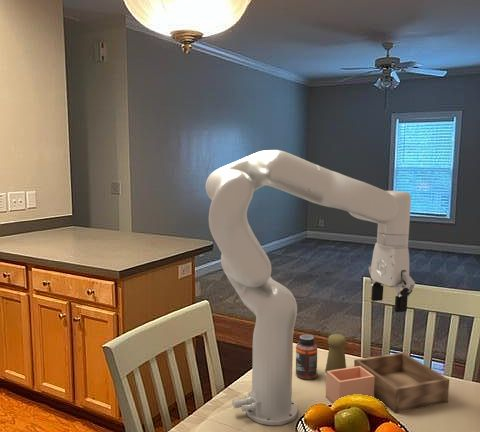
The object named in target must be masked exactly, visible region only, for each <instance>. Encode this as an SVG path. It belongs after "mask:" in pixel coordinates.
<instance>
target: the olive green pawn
mask: <svg viewBox="0 0 480 432" xmlns="http://www.w3.org/2000/svg"><path fill="white" fill-rule="evenodd" d="M327 344H328V346H329V348H328V352H327V360H326V364H325V370H324V371H325V373H326V371H331V370H337V369H344V368H347V363H346V351H345V347H346V346H347V339H346V337H345V336H344V335H342V334H341V333H339V334H338V333H332V334H330V335H329V336H328V338H327Z"/></svg>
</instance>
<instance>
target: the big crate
mask: <svg viewBox="0 0 480 432" xmlns="http://www.w3.org/2000/svg"><path fill="white" fill-rule="evenodd" d="M353 363H354V364H353V367H356V366H361V367H362V368H364V369H365V370H367V371H368V372H369V373H371V374H372V375H373V376H375V381H374V398H375V399H376V398H377V399H376V400H378V399H379V400H380V401H382V402H383V403H384V404H385V405H384V404H383V403H382V404H383V405H384V406H385V407H386V408H388V409H389V410H390V411H392V412H393V413H394V414H397V413H402V412H406V411H412V410H416V409H423V408H427V407H432V406H437V405H443V404H447V403H448V402H449V389H450V379H448V378H447V377H445V376H443V375H442V374H440V373H439V372H437V371H435V370H434V369H431V368H430V367H428V366H427V365H426V364H423V362H421V361H419V360H417V359H415V358H414V357H412V356H410V355H408V354H406V353H405V352H395V353H390V354H384V355H377V356H371V357H370V356H369V357H364V358H357V359H354V362H353ZM379 400H378V401H379ZM380 401H379V402H380Z"/></svg>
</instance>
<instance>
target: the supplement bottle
mask: <svg viewBox="0 0 480 432" xmlns="http://www.w3.org/2000/svg"><path fill="white" fill-rule="evenodd" d="M317 375H318V345H317V344H316V343H315V337H314V336H313V335H311V334H302V335H300V336H299V341H298V342H297V343H296V345H295V376H297V378H299V379H303V380H311V379H314V378H317Z"/></svg>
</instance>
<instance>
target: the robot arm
mask: <svg viewBox="0 0 480 432" xmlns="http://www.w3.org/2000/svg"><path fill="white" fill-rule="evenodd" d="M265 186H267V187H271V188H274V189H277V190H280V191H283V192H285V193H287V194H290V195H292V196H295V197H297V198H301V199H302V200H305V201H308V202H310V203H313V204H317V205H319V206H323V207H326V208H331V209H333V208H334V209H338V210H342V211H346V212H348V213H349V215H350V216H352V217H353V218H356V219H359V220H361V221H366V222H370V223H371V222H372V223H376V224H377V233H376V234H377V237H376V242H375V244H374V248H373V251H372V257H371V258H372V259H371V265H369V266H368V273H369V279H370V285H371V297H370V299H371V301H372V302H377V301H381V302H382V301H383V299H384V298H383V297H384V295H383V294H384V286H385V287H388V288H394V290H395V293H396V296H395V297H394V298H395V300H394V312H395V313H405V312H407V310H408V299H409V298H408V297H410V295H411V294H412V292H413V289H414V287H415V285H416V282H415V280H414V279H413V278H412V277H411V276H410V252H409V235H410V223H411V222H410V221H411V219H410V218H411V205H412V197H411V194H410V193H409V192H408V191H403V190H385V189H383V188H382V189H381V188H379V187H377V186H374V185H373V184H370V183H367V182H366V181H362V180H358V179H355V178H352V177H350V176H348V175H344V174H342V173H340V172H337V171H334V170H332V169H331V170H330V169H328V168H326V167H323V166H320V165H318V164H315V163H314V162H310V161H308V160H306V159H304V158H301V157H299V156H298V155H294V154H292V153H289V152H286V151H284V150H280V149H266V150H260V151H257V152H255V153H252V154H250V155H248V156H245V157H243V158H241V159H238V160H236V161H233V162H231V163H229V164H226V165H223V166H222V167H219V168H217V169H215V170H214V171H212V172H211V173H210V174H209V176H208V177H207V179H206V182H205V191H206V195H207V196H208V198H209V199H210V200H211V202H210V206H209V210H208V211H209V212H208V227H209V230H210V234H211V236H212V238H213V240H214V241H215V244H216V245H217V248H218V249H219V251H220V253H221V255H220V264H221V267H222V271H223V272H224V274H225V276H226V278H227V279H228V281H229V283H230V284H231V286H232V288H234V290H235V292H236V293H237V296H238V297H239V299H240V300H241V301H242V303H243V304H244V305H245V307H246V308H247V309H248V310H249V311H250V312H252V314H253V315H254V316H255V325H254V329H253V333H252V334H253V335H252V372H251V375H252V376H251V377H252V378H251V379H252V381H251V383H252V384H251V387H252V388H251V390H249V391H248V393H247V394H248V396H245V397H244V398H237V399H236V398H235V399H232V401H231V402H232V407H233V409H238V408H240V411H241V412H242V413H243V412H245V414H246V416H247V417H248V418H250V420H252V421H253V422H255V423H259V424H261V425H265V426H266V425H268V426H279V425H280V426H281V425H286V424H289V423H290V422H293V421H294V420H295V419H296V418H297V417H298V414H299V412H298V411H299V408H298V405H297V403H296V402H294V400H292V398H293V397H292V394H293V392H292V391H293V360H294V359H293V354H294V353H293V352H294V351H293V349H294V344H293V343H294V330H295V324H296V319H297V314H298V305H297V301H296V297H295V296H294V294H293V292H291V291H290V289H288V288H287V287H286V286H285V285H283V284H282V283H280V282H278V281H276V280H274V279H273V278H272V275H271V274H272V263H271V260H270V258H269V256H268V255H267V253H266V251H265V250H264V248H263V247H262V245H261V243H260V242H259V240H258V239H257V237H256V235H255V234H254V232H253V230H252V229H253V228H251V225H250V224H249V220H248V209H249V206H250V203H251V202H252V199H253V196H254V192H255V191H257V190H258V189H261V188H263V187H265ZM401 288H402V290H401Z"/></svg>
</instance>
